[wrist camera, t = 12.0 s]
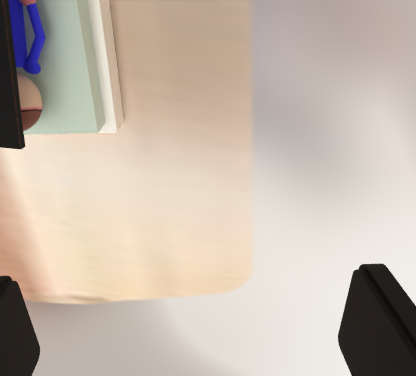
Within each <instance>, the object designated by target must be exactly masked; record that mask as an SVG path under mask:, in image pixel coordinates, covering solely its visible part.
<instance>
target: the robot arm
mask: <svg viewBox="0 0 416 376" xmlns="http://www.w3.org/2000/svg"><path fill="white" fill-rule="evenodd" d="M338 342H339V346H340V349H341V351H342V354H343V356H344V358H345V361H346V363H347V365H348V368H349V370H350V372H351V375H352V376H416V306H415V304H414V303H413V302H412V301H411V299H410V298H409V296H408V295H407V294H406V292H405V291H404V290H403V289H402V287H401V286H400V284H399V283H398V282H397V280H396V279H395V277H394V276H393V275H392V273H391V272H390V271H389V269H388V268H387V267H386V266H385V265H384V264H362V265H361V266H360V267H359V269H358V270H355V271H354V272H353V275H352V279H351V284H350V288H349V292H348V296H347V300H346V304H345V309H344V313H343V317H342V321H341V325H340V330H339V334H338ZM39 355H40V346H39V343H38V340H37V337H36V334H35V332H34V328H33V325H32V323H31V320H30V317H29V314H28V311H27V308H26V305H25V302H24V299H23V296H22V293H21V290H20V288H19V285H18V283H17V282H16V281H12V279H11V277H9V276H0V376H32V373H33V371H34V369H35V366H36V364H37V362H38V359H39Z"/></svg>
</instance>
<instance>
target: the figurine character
mask: <svg viewBox="0 0 416 376" xmlns="http://www.w3.org/2000/svg"><path fill="white" fill-rule="evenodd" d="M35 2H36V0H0V147H3V148H13V149H22V148H24V147H25V141H24V132H23V131H25V130H28V129H29V128H31V127H32V126H33V125H34V124H35V123H36V122H37V121H38V119H39V118H40V116H41V113H42V106H43V104H42V98H41V94H40V92H39V90H38V88H37V87H36V86H35V84H34V83H33V82H32V81H31V80H30V79H29V78H27V77H26V76H24V75H23V74H21V73H19V72H17V71H16V67H22V68H23V69H24V70H25V71H26V72H28V73H30V74H38V73H40V71H41V67H40V65H39V64H38V62H37V61H38V58H39V55H40V53H41V50H42V47H43V44H44V42H45V39H46V37H45V34H44V30H43V27H42V23H41V20H40V16H39V13H38V9H37V6H36V3H35ZM23 5H25V6H26V7H27V10H28V14H29V17H30V21H31V24H32V27H33V31H34V34H35V38H34V41H33V44H32V47H31V49H30V52H29V55H28V56H27V45H26V34H25V24H24V13H23Z"/></svg>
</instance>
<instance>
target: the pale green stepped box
mask: <svg viewBox="0 0 416 376" xmlns="http://www.w3.org/2000/svg"><path fill="white" fill-rule="evenodd" d="M35 3H36V6H37V9H38V13H39V16H40V20H41V23H42V27H43V30H44V34H45V37H46V39H45V42H44V44H43V47H42V50H41V53H40V55H39V58H38V61H37V62H38V64H39V65H40V67H41V71H40V73H38V74H30V73H28V72H26V71H25V70H24V69H23V68H22V67H16V71H17V72H19V73H21V74H23V75H24V76H26V77H27V78H29V79H30V80H31V81H32V82H33V83H34V84H35V86H36V87H37V88H38V90H39V92H40V94H41V98H42V104H43V106H42V113H41V116H40V118H39V119H38V121H37V122H36V123H35V124H34V125H33V126H32V127H31V128H29V129H28V130H25V131H23V132H24V134H70V133H117V132H118V130H119V128H120V127H121V125H122V123H123V122H124V117H123V108H122V100H121V92H120V84H119V76H118V68H117V60H116V51H115V43H114V35H113V27H112V19H111V11H110V2H109V0H36V2H35ZM23 13H24V24H25V34H26V45H27V56H28V55H29V52H30V49H31V47H32V44H33V41H34V38H35V34H34V31H33V27H32V24H31V21H30V17H29V14H28V10H27V7H26V6H25V5H23Z"/></svg>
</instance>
